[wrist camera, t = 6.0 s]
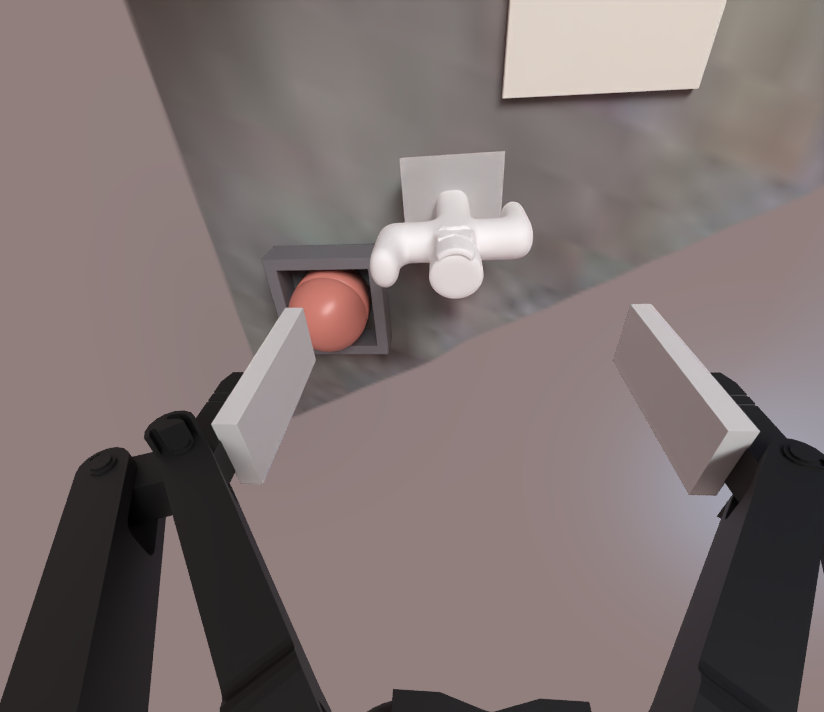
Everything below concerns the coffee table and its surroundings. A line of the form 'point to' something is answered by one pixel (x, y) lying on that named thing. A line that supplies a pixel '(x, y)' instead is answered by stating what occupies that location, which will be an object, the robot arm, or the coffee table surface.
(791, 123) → the coffee table surface
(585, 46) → the game square
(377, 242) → the white faucet
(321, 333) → the pink ball
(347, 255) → the housing
